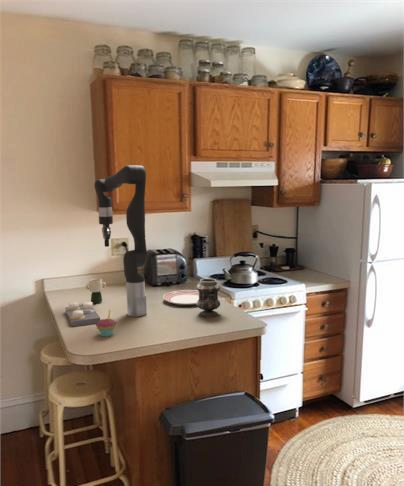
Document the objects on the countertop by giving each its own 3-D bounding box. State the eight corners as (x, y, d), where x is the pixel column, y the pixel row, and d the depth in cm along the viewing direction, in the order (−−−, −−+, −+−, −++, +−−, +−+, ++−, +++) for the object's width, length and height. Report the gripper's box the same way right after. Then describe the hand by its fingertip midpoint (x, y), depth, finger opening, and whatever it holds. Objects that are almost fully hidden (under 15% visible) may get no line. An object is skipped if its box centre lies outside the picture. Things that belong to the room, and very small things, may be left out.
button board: (100, 322, 204) (100, 317, 203) (72, 326, 198) (72, 320, 198) (90, 309, 227) (90, 303, 227) (65, 312, 222) (65, 307, 222)
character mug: (105, 299, 246) (104, 277, 244) (107, 302, 239) (106, 280, 237) (86, 301, 242) (85, 279, 240) (87, 305, 235) (86, 282, 233)
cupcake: (117, 331, 192) (116, 305, 190) (114, 337, 183) (113, 311, 182) (98, 331, 191) (97, 305, 190) (94, 338, 183) (93, 311, 181)
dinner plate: (219, 304, 234) (219, 298, 233) (171, 310, 224) (171, 304, 223) (201, 293, 259) (200, 288, 259) (157, 298, 249) (157, 292, 249)
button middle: (93, 308, 212) (93, 303, 212) (83, 309, 210) (83, 304, 210) (91, 306, 217) (91, 301, 216) (82, 307, 215) (81, 302, 214)
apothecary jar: (222, 311, 219) (222, 277, 217) (217, 318, 208) (216, 283, 206) (200, 310, 223) (199, 276, 220) (193, 317, 211) (193, 281, 209)
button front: (84, 317, 203) (83, 312, 203) (73, 318, 201) (73, 313, 201) (82, 314, 207) (82, 309, 207) (72, 315, 205) (72, 310, 205)
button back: (79, 308, 217) (78, 304, 217) (69, 309, 215) (69, 305, 215) (77, 306, 222) (77, 301, 221) (68, 307, 220) (67, 302, 219)
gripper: (115, 215, 230) (116, 247, 232) (109, 214, 242) (111, 244, 244) (101, 216, 227) (102, 248, 229) (96, 215, 239) (97, 245, 241)
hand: (106, 246), depth 237 cm, fingers closed
